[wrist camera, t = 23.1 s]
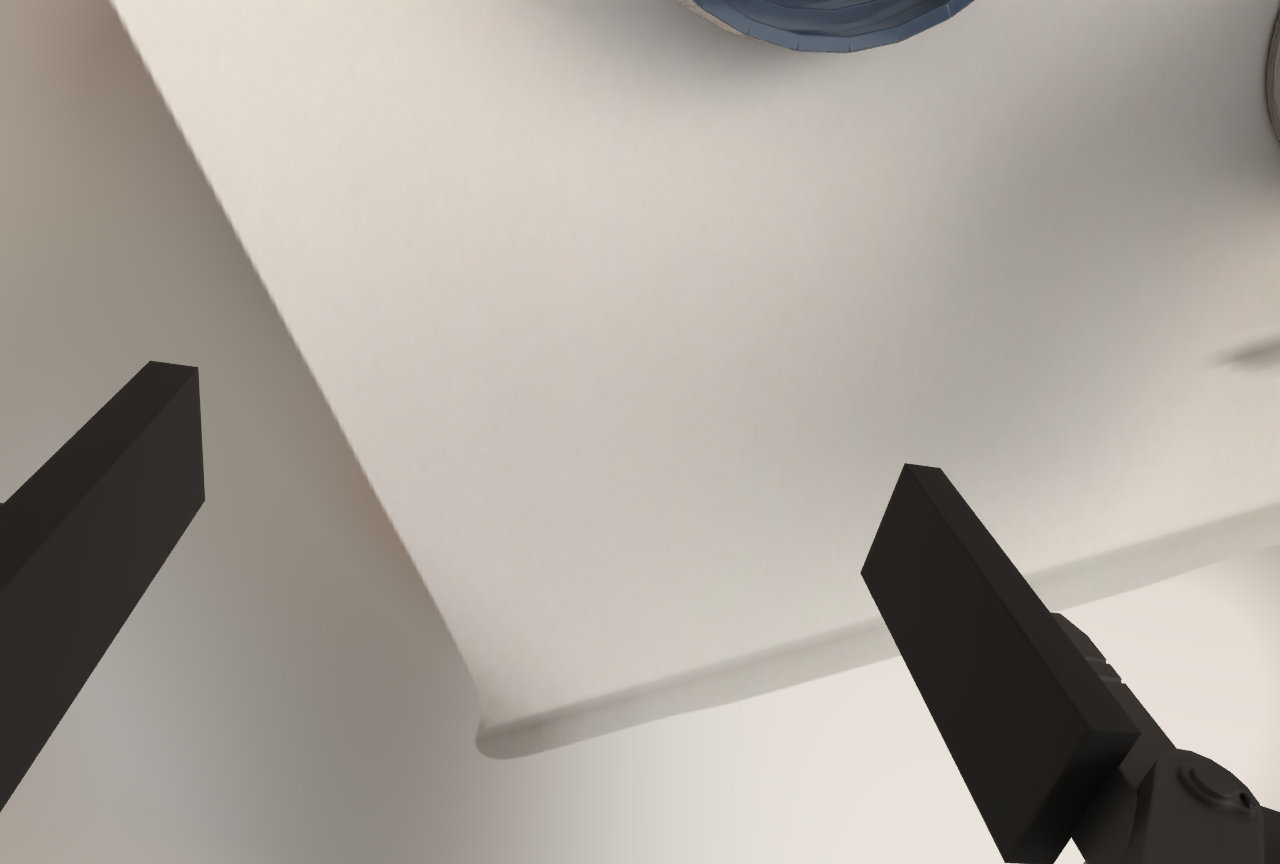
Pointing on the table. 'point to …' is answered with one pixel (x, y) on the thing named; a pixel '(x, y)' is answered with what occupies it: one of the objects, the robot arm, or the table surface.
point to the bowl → (826, 21)
